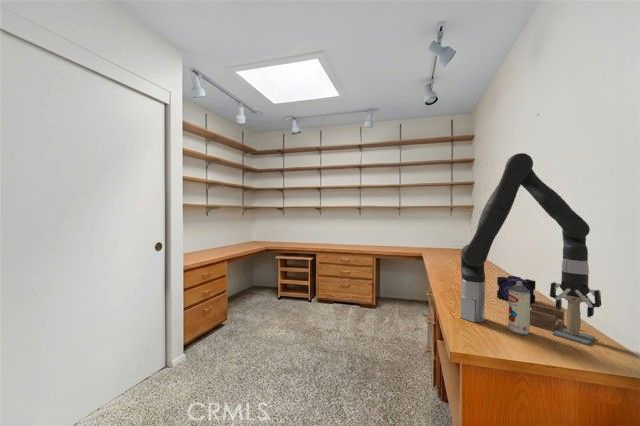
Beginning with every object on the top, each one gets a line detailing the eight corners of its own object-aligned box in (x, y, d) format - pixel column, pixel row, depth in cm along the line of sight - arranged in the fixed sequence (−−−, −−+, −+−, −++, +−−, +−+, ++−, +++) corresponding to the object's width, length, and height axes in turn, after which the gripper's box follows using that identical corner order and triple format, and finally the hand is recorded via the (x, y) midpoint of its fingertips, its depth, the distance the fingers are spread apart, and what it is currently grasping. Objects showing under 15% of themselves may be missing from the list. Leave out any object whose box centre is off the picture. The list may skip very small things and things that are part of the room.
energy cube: (497, 298, 150) (497, 277, 150) (512, 296, 153) (513, 275, 153) (518, 305, 138) (519, 282, 138) (535, 303, 142) (535, 281, 142)
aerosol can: (504, 327, 111) (505, 279, 111) (522, 328, 110) (522, 279, 110) (515, 334, 104) (515, 283, 104) (533, 335, 104) (534, 284, 104)
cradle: (554, 331, 107) (554, 317, 107) (522, 322, 116) (522, 308, 116) (564, 325, 114) (564, 311, 114) (532, 316, 123) (532, 303, 123)
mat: (588, 345, 96) (588, 343, 96) (552, 334, 105) (552, 332, 105) (595, 338, 102) (595, 336, 102) (560, 328, 110) (560, 327, 110)
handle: (585, 339, 100) (586, 299, 99) (562, 333, 104) (562, 295, 104) (584, 335, 103) (585, 296, 103) (561, 330, 107) (562, 292, 107)
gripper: (548, 268, 107) (547, 309, 107) (598, 276, 95) (597, 321, 95) (554, 266, 111) (553, 305, 111) (603, 273, 99) (602, 317, 100)
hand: (574, 313), depth 103 cm, fingers open, 8 cm apart
